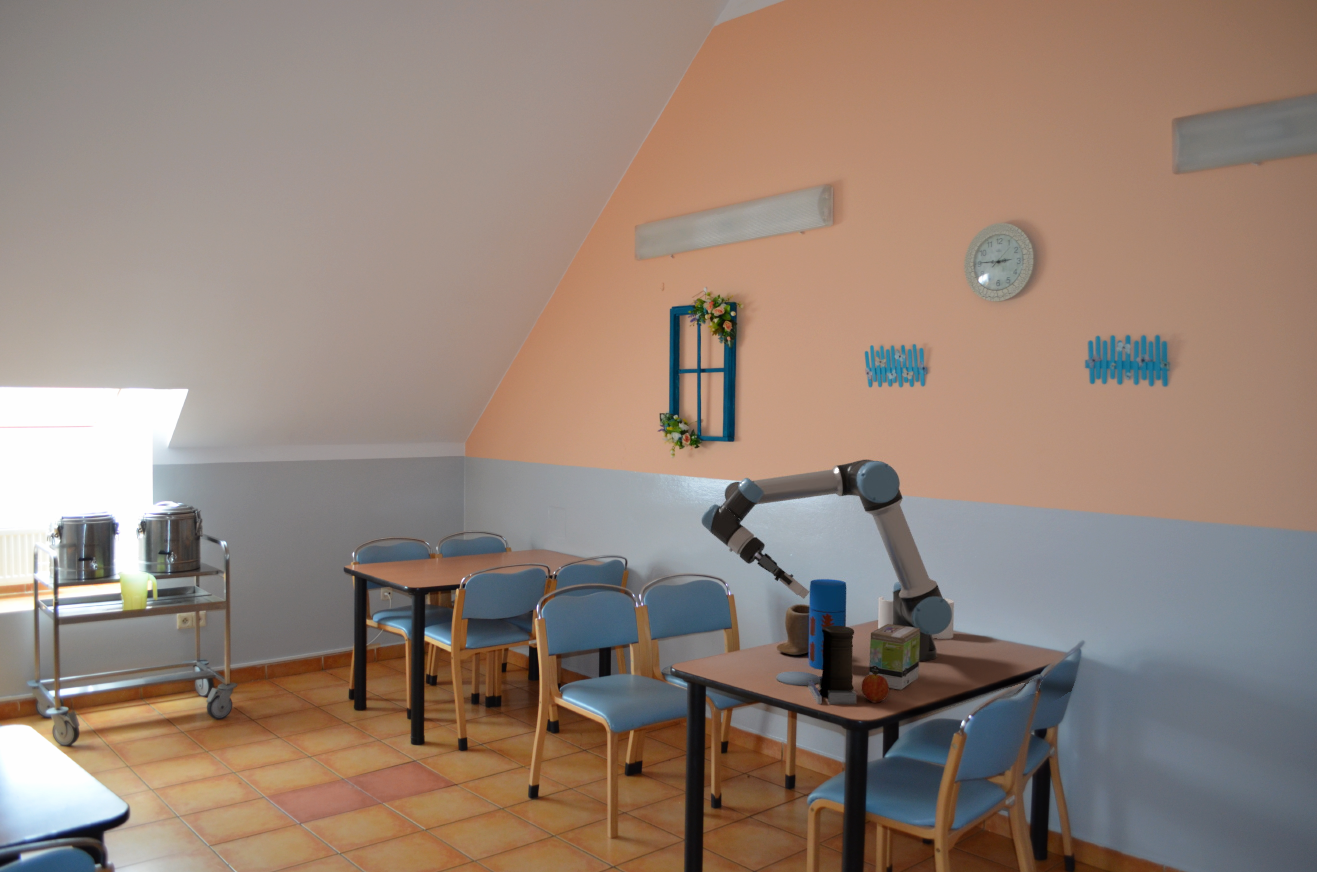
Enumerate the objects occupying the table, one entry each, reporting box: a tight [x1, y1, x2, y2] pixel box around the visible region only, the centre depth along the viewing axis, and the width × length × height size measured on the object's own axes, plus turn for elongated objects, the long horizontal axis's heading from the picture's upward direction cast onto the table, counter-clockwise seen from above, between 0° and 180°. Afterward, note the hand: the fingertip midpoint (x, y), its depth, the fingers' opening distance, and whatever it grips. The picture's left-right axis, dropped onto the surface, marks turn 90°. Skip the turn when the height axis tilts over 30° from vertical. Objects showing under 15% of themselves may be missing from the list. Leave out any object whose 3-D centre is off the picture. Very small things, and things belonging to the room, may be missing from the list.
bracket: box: [877, 596, 955, 640], centre depth 324 cm, size 25×10×12 cm, turn 85°
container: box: [819, 626, 855, 700], centre depth 253 cm, size 9×9×18 cm
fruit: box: [861, 671, 890, 703], centre depth 249 cm, size 7×7×8 cm
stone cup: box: [775, 603, 809, 656], centre depth 298 cm, size 15×12×15 cm
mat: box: [776, 670, 819, 687], centre depth 269 cm, size 12×12×1 cm
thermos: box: [808, 578, 847, 671], centre depth 283 cm, size 11×11×25 cm
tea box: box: [868, 624, 920, 691], centre depth 268 cm, size 15×10×15 cm, turn 148°
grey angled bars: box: [807, 675, 857, 705], centre depth 254 cm, size 10×15×3 cm, turn 1°
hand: (803, 593), depth 268 cm, fingers open, 13 cm apart
